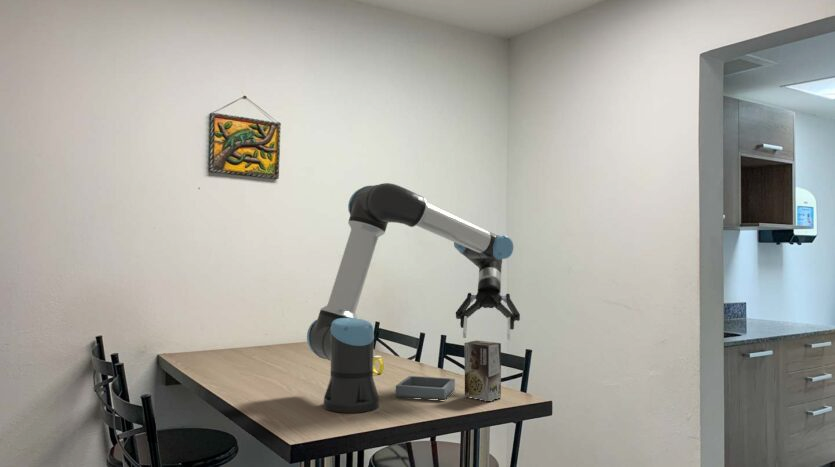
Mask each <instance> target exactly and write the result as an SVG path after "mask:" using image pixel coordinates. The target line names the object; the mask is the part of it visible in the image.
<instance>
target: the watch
mask: <svg viewBox="0 0 835 467" xmlns="http://www.w3.org/2000/svg"><path fill="white" fill-rule="evenodd" d="M376 360H378V362H379V370H378V371H377V369H376V366H375V364H376V363H375V362H376ZM383 372H384V361H383V358H382V356H381V355H373V374H377V375H380V374H382V373H383Z"/></svg>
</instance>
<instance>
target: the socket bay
mask: <svg viewBox="0 0 835 467" xmlns="http://www.w3.org/2000/svg"><path fill="white" fill-rule="evenodd" d="M454 390H455V391H456V378H448V377H433V376H432V377H431V376H420V375H419V376H418V375H408V376H407V377H405V378H404V379H403V380H402V381H401V382H399V383H397V384H396V385H395V398H396V397H397V398H396V399H406V398H421V399H438V400H445V399H446V398H447V397H448V396H449V395H450V394H451V393H452V392H453V391H454ZM455 391H454V392H455ZM454 392H453V393H454ZM453 393H452V394H453ZM452 394H451V395H452ZM451 395H450V396H451ZM450 396H449V397H450ZM449 397H448V398H449ZM448 398H447V399H448ZM447 399H446V400H447ZM446 400H445V401H446Z"/></svg>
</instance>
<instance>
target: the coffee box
mask: <svg viewBox="0 0 835 467" xmlns="http://www.w3.org/2000/svg"><path fill="white" fill-rule="evenodd" d="M463 344H464V348H463V349H464V397H465V396H467V397H472V398H477V399H482V400H486V401H491V400H494V399H498V398H501V399H502V376H501V375H502V360H501V359H502V343H499V342H494V341H493V342H492V341H485V340H472V341H466V342H464V343H463ZM498 400H499V399H498ZM486 401H485V402H486ZM494 401H495V400H494ZM491 402H492V401H491Z"/></svg>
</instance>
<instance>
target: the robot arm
mask: <svg viewBox="0 0 835 467" xmlns="http://www.w3.org/2000/svg"><path fill="white" fill-rule="evenodd" d="M347 205H348V207H347V208H348V213H349V219H348V222H347V223H348V225H349V227H350V233H349V235H348V238H347V241H346V246H345V248H344V251H343V255H342V258H341V261H340V264H339V268H338V270H337V274H336V277H335V279H334V283H333V285H332V290H331V293H330V296H329V299H328V303H327V305H324V307H321V308H320V310H319V313H318V316H317V319H315V320H314V321H312V323H311V324H310V325H309V326H308V329H307V334H306V341H307V342H306V343H307V345H308V347H309V349H310V350H311V352H312V353H314V354H315V355H316V356H317V357H319V358H321V359H324V360H327V361H330V377H329V378H330V379H329V382H328V384H327V388H326V391H325V393H324V396H323V408H324V409H326V410H328V411H330V412H333V413H334V412H335V413H344V414H345V413H347V414H348V413H349V414H353V413H356V414H357V413H364V412H365V413H366V412H369V411H373V410H376V409H377V408H379V407H380V396H379V393H378V389H377V386H376V382H375V380H374V373H373V357H374V340H375V334H374V326H373V324H372V323H371V322H370V321H369V320H366V319H362V318H358V315H357V314H356V310H357V308H358V305H359V302H360V297H361V296H362V292H363V288H364V285H365V282H366V278H367V276H368V272H369V269H370V266H371V262H372V260H373V255H374V252H375V251H376V246H377V243H378V241H379V240H378V239H379V237H381V236H383V235H385V233H386V230H387V227H388V223H396V224H397V223H398V224H401V225H406V226H408V227H410V228H415V227H419V228H421V229H424V230H426V231H428V232H430V233H432V234H435V235H437V236H439V237H441V238H444V239H446V240H449V241H451V242H453V245H454V248H455V249H456V250H457V251H458V252H459V253H460V254H461V255H463V256H464V257H465V258H466V259H468V260H469V261H470V262H471V263H473V264H474V265H475V266H476V267H478V269H479V270H478V280H477V281H478V282H477V292H476V294H472V293H471V292H468V293H467V295H466V298H465V299H464V300H463V302H462V303H461V305H460V306H459V308H458V309H457V310H456V311H455V318H456V320H460V324H459V326H460V328H461V329H462V336H463V338H464V339H465V338H467V330H468V329H467V328H468V318H470V317H471V316H472V315H473V314H474V313H476V311H478V310H481V309H482V308H483V309H488V308H489V309H494V308H495V309H496V310H497V311H499V312H500V313H501V314H502V315H503V316H504V317H505V318H506V319H507V330H506V331H507V333H506V334H507V335H506V336H507V340H510V339H511V330H514V329H515V322H516V321H517V322H519V321H520V320H521V315H520V312H519V311H518V309H517V307H516V306H515V304H514V303H513V301H512V299H511V295H510V294H509V293H506V294H505V295H502V294H501V289H502V288H501V287H502V267H503V266H502V265H503V260H506V259H508V258H510V257H511V256H512V254H513V252H514V243H513V240H512V239H511V237H509V236H508V235H503V234H496V233H493V232H490V231H488V230H486V229H484V228H482V227H480V226H477V225H475V224H474V223H471V222H469V221H467V220H465V219H462V218H460V217H459V216H456V215H454V214H452V213H450V212H448V211H446V210H444V209H442V208H440V207H437V206H435V205H433V204H431V203H429V202H427V200H426V198H425V197H424V196H422V195H419V194H418V193H416V192H413V191H412V190H409V189H407V188H405V187H403V186H401V185H398V184H394V183H390V182H389V183H388V182H386V183H380V184H379V183H378V184H374V185H365V186H363V187H361V188H359V189H357V190H356V191H354V192H353V194H352V195H351V196H350V198H349V201H348V204H347ZM474 301H475V302H474ZM502 301H503V302H504V303H505V304H506V305H507V307H508V308H507V307H506V306H505V305H504V304H503V303H502ZM473 302H474V303H473ZM471 303H472V304H471Z"/></svg>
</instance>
